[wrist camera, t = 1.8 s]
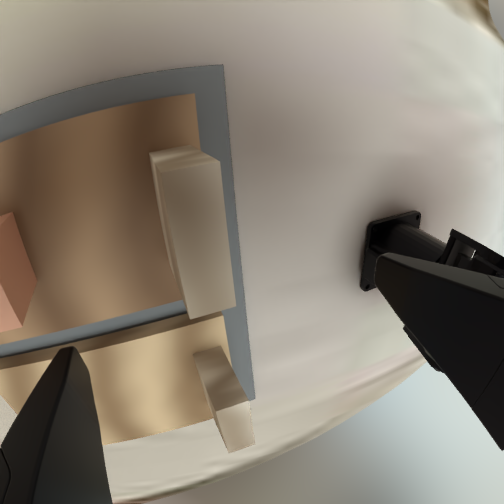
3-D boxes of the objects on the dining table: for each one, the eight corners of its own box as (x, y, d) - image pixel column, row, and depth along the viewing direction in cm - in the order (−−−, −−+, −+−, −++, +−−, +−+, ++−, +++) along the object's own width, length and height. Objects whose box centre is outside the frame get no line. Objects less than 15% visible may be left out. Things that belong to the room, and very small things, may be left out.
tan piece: (217, 304, 20) (254, 370, 15) (235, 399, 26) (263, 454, 21) (-14, 361, 15) (-30, 428, 10) (54, 441, 20) (58, 498, 15)
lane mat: (220, 65, 15) (223, 64, 14) (253, 395, 28) (255, 398, 27) (-89, 162, 9) (-93, 164, 8) (62, 442, 22) (62, 446, 21)
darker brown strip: (189, 94, 14) (228, 86, 9) (213, 279, 19) (251, 344, 14) (-91, 189, 9) (-148, 228, 4) (-27, 340, 14) (-49, 408, 9)
